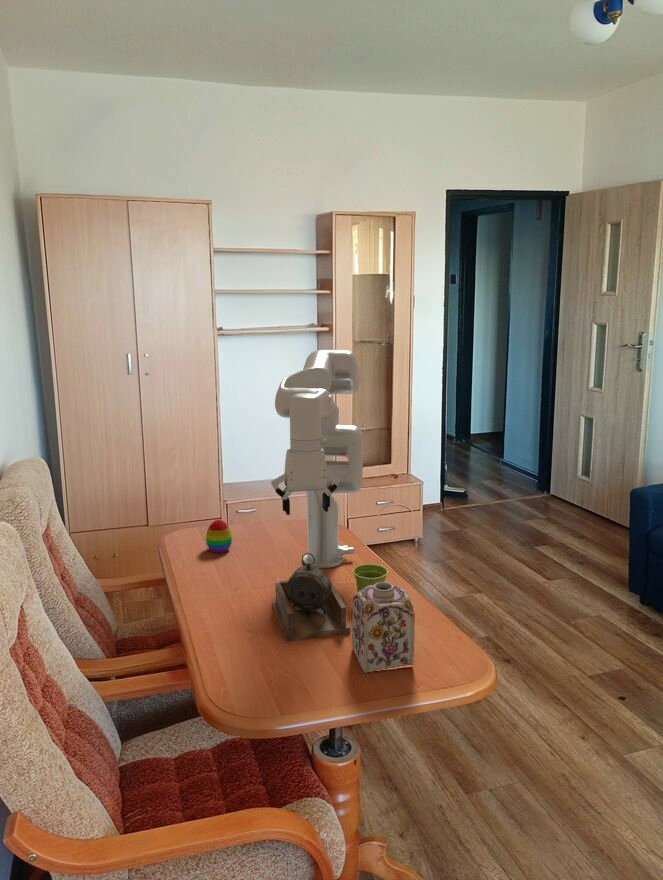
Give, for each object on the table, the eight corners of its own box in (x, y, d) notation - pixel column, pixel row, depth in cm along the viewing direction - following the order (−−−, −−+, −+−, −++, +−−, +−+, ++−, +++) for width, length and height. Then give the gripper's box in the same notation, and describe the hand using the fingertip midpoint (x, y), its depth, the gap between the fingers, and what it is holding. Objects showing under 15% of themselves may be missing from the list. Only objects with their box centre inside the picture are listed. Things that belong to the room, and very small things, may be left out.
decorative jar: (414, 669, 160) (416, 594, 156) (364, 675, 158) (364, 599, 154) (398, 642, 172) (400, 572, 168) (351, 648, 169) (351, 577, 165)
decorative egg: (211, 544, 234) (210, 515, 232) (235, 546, 233) (234, 516, 231) (202, 553, 226) (201, 523, 224) (227, 555, 225) (226, 525, 223)
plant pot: (394, 603, 192) (395, 573, 190) (365, 611, 187) (365, 580, 185) (374, 590, 200) (375, 561, 198) (346, 598, 195) (346, 568, 193)
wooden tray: (330, 598, 195) (330, 576, 194) (350, 633, 176) (350, 608, 175) (272, 604, 191) (271, 582, 190) (285, 641, 172) (285, 616, 171)
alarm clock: (332, 611, 184) (332, 551, 181) (324, 620, 179) (324, 559, 176) (292, 604, 188) (291, 546, 184) (284, 613, 183) (283, 554, 179)
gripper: (336, 439, 180) (336, 504, 184) (267, 443, 175) (269, 509, 179) (344, 446, 173) (344, 513, 177) (273, 450, 168) (274, 519, 172)
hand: (306, 511), depth 178 cm, fingers open, 9 cm apart
